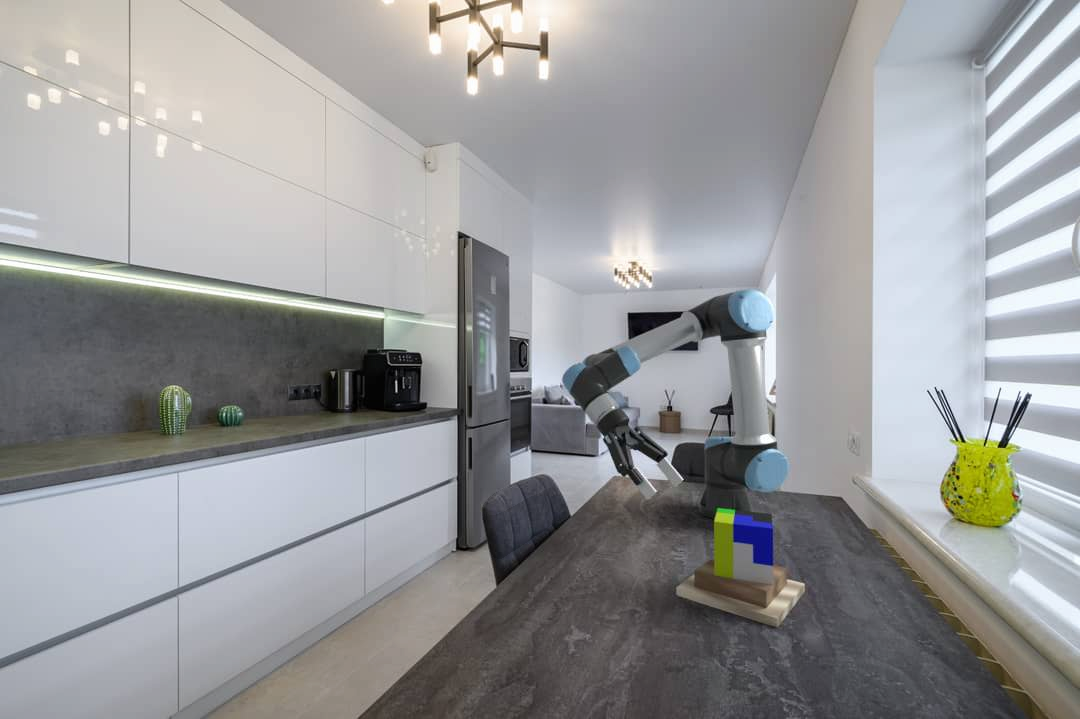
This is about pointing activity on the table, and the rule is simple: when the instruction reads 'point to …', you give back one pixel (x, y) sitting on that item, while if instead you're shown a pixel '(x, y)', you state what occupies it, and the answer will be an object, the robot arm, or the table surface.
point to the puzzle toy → (743, 545)
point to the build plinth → (745, 607)
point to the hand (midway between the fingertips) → (666, 489)
